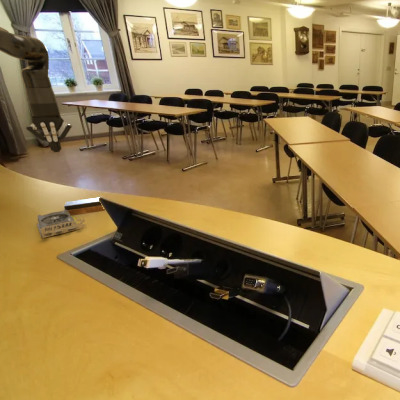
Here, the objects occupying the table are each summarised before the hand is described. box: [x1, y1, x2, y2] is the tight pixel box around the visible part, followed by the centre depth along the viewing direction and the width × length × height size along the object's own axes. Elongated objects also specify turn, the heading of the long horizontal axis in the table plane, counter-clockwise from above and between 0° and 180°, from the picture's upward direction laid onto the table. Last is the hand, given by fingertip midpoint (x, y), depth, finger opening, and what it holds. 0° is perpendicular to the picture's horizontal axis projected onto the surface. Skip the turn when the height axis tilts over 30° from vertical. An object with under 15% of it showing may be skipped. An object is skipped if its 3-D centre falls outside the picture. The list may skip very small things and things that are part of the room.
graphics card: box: [36, 209, 87, 241], centre depth 111 cm, size 17×4×12 cm
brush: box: [62, 196, 105, 216], centre depth 123 cm, size 4×6×13 cm
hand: (56, 151), depth 115 cm, fingers closed
